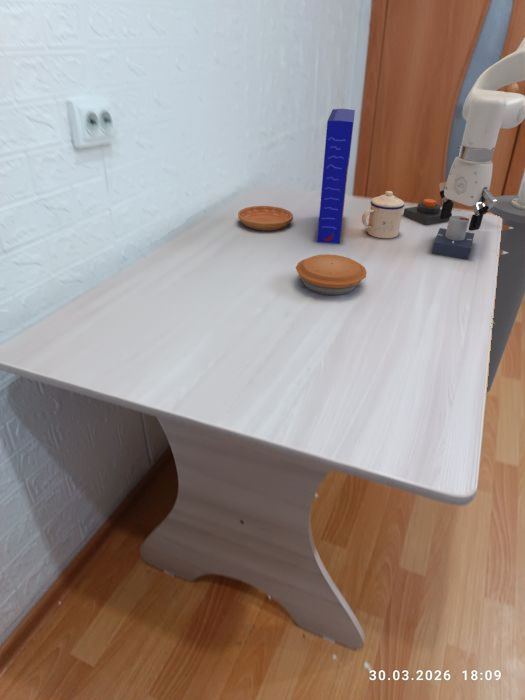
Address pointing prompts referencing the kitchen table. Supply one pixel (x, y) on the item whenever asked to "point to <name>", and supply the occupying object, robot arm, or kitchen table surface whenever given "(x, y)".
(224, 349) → the kitchen table surface
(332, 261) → the pie
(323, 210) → the cereal box
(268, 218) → the saucer
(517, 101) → the robot arm
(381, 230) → the teacup with lid
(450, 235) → the dial
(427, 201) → the button
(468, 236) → the dial panel
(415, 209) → the switch block
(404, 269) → the kitchen table surface
